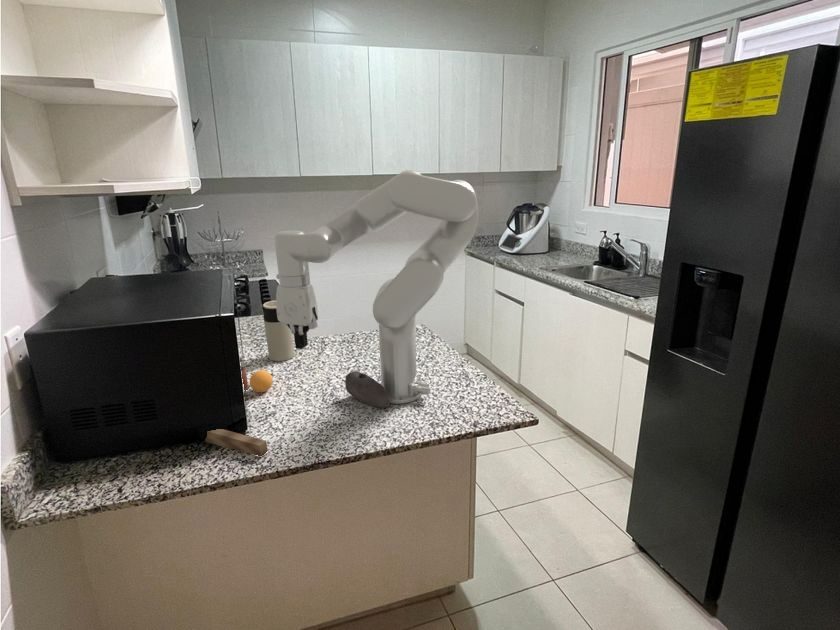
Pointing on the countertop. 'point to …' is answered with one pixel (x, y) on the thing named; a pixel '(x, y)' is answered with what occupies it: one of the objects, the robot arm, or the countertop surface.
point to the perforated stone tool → (366, 389)
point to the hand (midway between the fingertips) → (301, 346)
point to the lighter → (244, 375)
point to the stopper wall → (237, 441)
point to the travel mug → (277, 335)
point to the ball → (261, 381)
